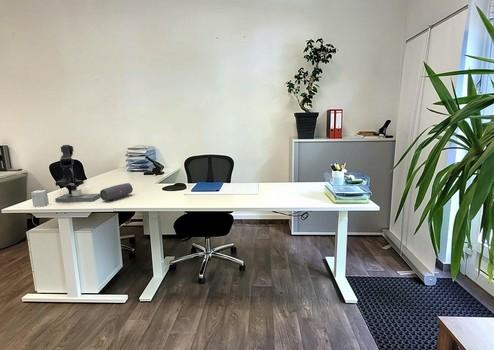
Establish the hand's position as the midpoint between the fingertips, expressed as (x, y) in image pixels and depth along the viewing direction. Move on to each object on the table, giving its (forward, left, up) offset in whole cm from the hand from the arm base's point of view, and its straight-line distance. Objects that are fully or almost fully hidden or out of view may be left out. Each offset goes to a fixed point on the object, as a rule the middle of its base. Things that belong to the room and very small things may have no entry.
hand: (71, 194), depth 232 cm
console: (0, +5, -4) cm, 7 cm away
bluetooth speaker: (-2, +34, -5) cm, 35 cm away
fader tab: (0, +4, -1) cm, 4 cm away
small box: (+13, -15, -5) cm, 20 cm away
